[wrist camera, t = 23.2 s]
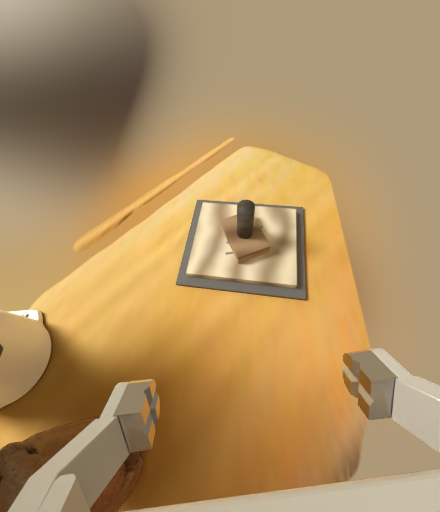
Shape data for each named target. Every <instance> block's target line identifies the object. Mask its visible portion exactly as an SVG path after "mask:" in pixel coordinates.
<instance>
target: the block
mask: <svg viewBox="0 0 440 512" xmlns="http://www.w3.org/2000/svg"><path fill="white" fill-rule="evenodd" d="M99 418H100V417H99ZM99 418H90V419H85V420H80V421H77V422H75V423H71V424H66V425H63V426H59V427H56V428H52V429H50V430H48V431H43V432H41V433H37V434H35V435H33V436H31V437H30V438H28V439H26V440H24V441H23V442H14V443H10V444H8V445H6V446H5V447H3V448H2V449H1V450H0V512H8V510H9V509H10V507H11V506H12V504H13V503H14V501H15V499H16V498H17V496H18V495H19V493H20V492H21V490H22V488H23V487H24V485H25V484H26V482H27V481H28V479H29V478H30V477H31V476H32V475H33V474H34V473H35V472H37V471H38V470H39V469H40V468H41V467H42V466H43V465H44V464H46V463H47V462H48V461H49V460H50V459H51V458H52V457H53V456H55V455H56V454H57V453H58V452H59V451H60V450H61V449H62V448H64V447H65V446H66V445H67V444H68V443H69V442H70V441H71V440H73V439H74V438H75V437H76V436H77V435H78V434H79V433H80V432H82V431H83V430H84V429H85V428H86V427H87V426H88V425H89V424H91V423H92V422H93V421H94V420H95V419H99ZM143 464H144V462H143V459H142V457H141V455H140V453H139V451H138V452H132V453H129V456H128V457H127V458H126V460H125V461H124V462H123V464H122V465H121V467H120V468H119V469H118V471H117V472H116V474H115V475H114V476H113V478H112V479H111V480H110V482H109V483H108V485H107V486H106V487H105V489H104V490H103V491H102V493H101V494H100V496H99V497H98V498H97V500H96V501H95V502H94V504H93V505H92V507H91V508H90V511H91V512H117V511H118V510H119V508H120V507H121V506H122V504H123V503H124V502H125V500H126V499H127V497H128V496H129V494H130V493H131V491H132V490H133V488H134V486H135V484H136V483H137V481H138V478H139V476H140V474H141V471H142V468H143Z"/></svg>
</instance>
